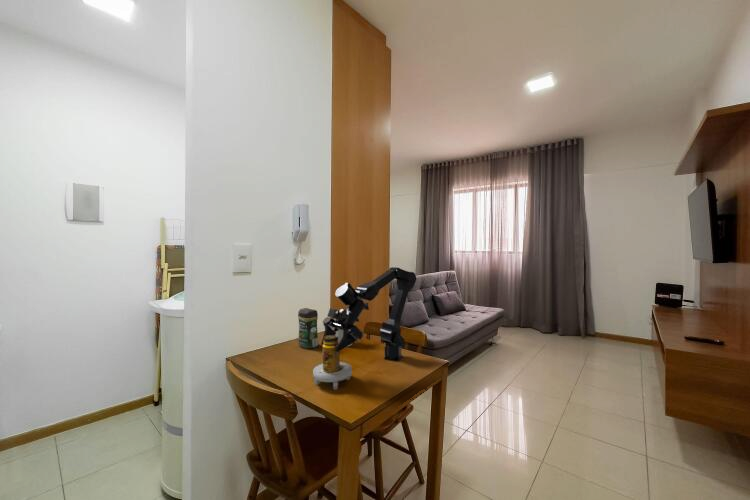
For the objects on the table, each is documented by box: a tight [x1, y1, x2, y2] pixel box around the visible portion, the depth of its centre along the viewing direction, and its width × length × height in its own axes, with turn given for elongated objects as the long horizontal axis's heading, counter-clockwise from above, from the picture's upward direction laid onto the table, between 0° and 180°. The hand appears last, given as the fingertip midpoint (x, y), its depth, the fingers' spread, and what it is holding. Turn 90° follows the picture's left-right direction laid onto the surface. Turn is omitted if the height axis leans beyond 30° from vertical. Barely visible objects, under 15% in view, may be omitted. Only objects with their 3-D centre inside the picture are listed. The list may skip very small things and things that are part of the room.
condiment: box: [319, 334, 346, 374], centre depth 108 cm, size 7×8×12 cm
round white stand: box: [312, 361, 353, 391], centre depth 108 cm, size 14×14×4 cm
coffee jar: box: [297, 307, 319, 350], centre depth 146 cm, size 10×8×19 cm
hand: (329, 348), depth 107 cm, fingers open, 9 cm apart
